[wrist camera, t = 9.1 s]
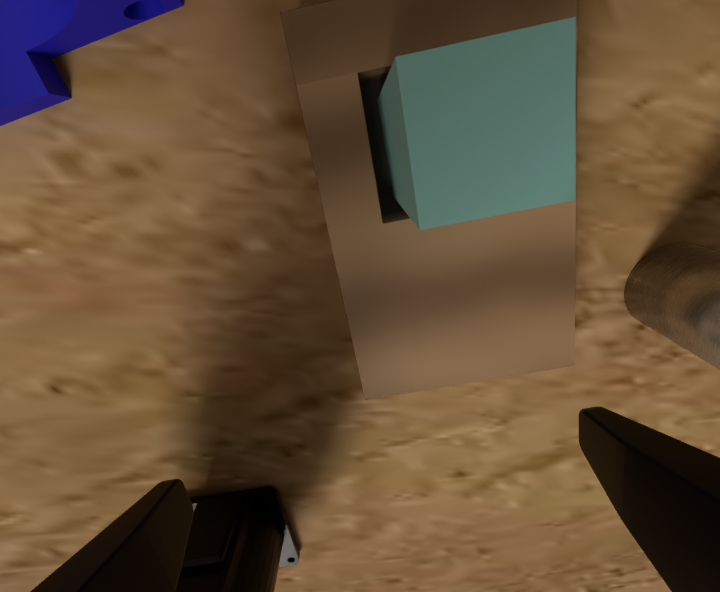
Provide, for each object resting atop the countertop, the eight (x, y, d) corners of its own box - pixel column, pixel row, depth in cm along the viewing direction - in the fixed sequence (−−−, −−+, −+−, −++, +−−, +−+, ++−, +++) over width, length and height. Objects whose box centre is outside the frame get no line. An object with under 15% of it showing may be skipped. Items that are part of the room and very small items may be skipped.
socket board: (549, 340, 20) (574, 365, 18) (364, 372, 21) (365, 399, 19) (543, -24, 15) (578, -56, 13) (291, 33, 15) (280, 12, 13)
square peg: (481, 178, 17) (575, 199, 10) (392, 196, 18) (420, 230, 10) (472, 79, 16) (575, 16, 8) (377, 99, 16) (395, 57, 9)
